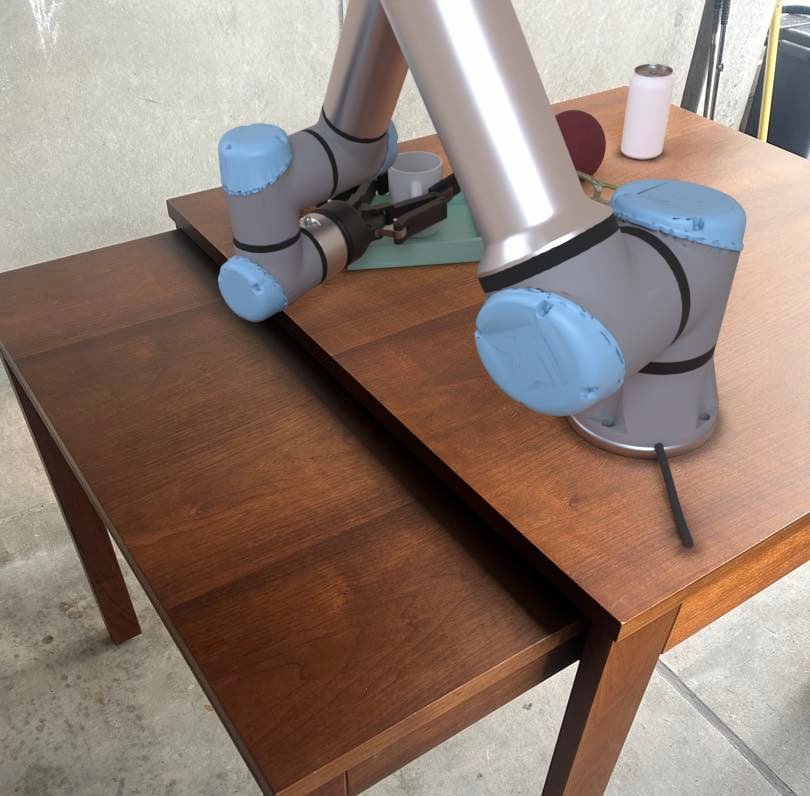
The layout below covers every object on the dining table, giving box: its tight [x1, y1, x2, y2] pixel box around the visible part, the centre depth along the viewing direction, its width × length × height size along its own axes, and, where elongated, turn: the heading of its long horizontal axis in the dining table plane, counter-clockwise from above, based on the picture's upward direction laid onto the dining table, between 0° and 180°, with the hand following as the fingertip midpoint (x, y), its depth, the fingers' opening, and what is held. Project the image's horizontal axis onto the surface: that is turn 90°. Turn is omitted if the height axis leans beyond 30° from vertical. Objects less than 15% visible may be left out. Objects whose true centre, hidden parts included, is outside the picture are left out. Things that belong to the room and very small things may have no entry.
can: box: [620, 63, 675, 161], centre depth 132 cm, size 6×6×12 cm
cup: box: [388, 150, 444, 238], centre depth 115 cm, size 7×10×9 cm
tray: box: [347, 191, 484, 271], centre depth 118 cm, size 17×19×3 cm
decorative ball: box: [555, 109, 607, 183], centre depth 126 cm, size 10×10×10 cm
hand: (432, 174), depth 117 cm, fingers closed on cup, 8 cm apart
